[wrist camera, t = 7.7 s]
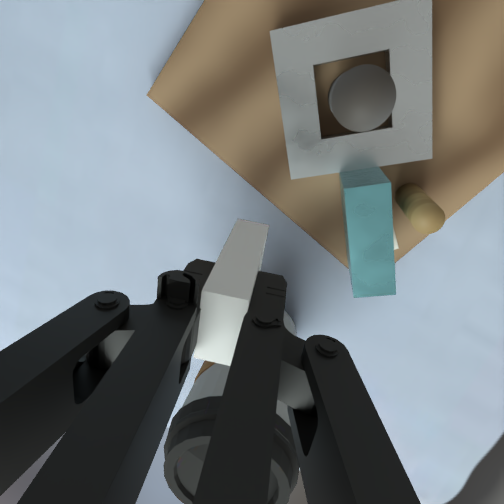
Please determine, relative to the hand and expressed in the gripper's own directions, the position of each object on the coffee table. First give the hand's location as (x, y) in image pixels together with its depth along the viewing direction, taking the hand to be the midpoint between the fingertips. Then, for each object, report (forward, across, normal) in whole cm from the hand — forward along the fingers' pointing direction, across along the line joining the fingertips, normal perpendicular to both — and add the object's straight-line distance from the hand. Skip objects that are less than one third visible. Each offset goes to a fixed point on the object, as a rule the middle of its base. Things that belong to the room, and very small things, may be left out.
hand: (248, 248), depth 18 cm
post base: (+12, +4, +7) cm, 15 cm away
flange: (+11, +5, +4) cm, 13 cm away
